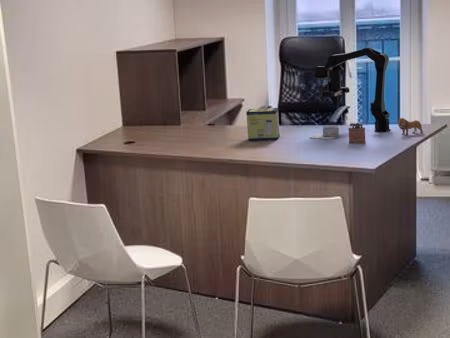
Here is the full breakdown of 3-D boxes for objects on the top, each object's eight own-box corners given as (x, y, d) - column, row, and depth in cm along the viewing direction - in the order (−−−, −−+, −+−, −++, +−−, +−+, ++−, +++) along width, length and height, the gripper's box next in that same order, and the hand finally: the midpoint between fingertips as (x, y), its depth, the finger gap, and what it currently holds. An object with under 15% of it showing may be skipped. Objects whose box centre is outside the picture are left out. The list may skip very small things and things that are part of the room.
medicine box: (337, 125, 371) (338, 127, 363) (338, 133, 372) (339, 136, 364) (322, 126, 372) (323, 128, 364) (322, 134, 373) (323, 137, 365)
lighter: (366, 142, 347) (365, 122, 344) (365, 144, 343) (364, 123, 341) (349, 142, 349) (348, 122, 347) (348, 144, 346) (347, 123, 344)
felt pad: (339, 136, 367) (339, 135, 367) (329, 139, 360) (329, 138, 360) (320, 134, 375) (320, 133, 375) (309, 138, 368) (309, 137, 368)
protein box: (251, 137, 382) (249, 108, 379) (280, 136, 379) (278, 107, 375) (247, 141, 372) (245, 111, 369) (277, 140, 369) (275, 110, 366)
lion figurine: (402, 137, 354) (401, 119, 352) (395, 135, 358) (395, 117, 356) (426, 133, 359) (425, 115, 357) (419, 131, 364) (418, 114, 362)
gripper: (331, 76, 391) (332, 105, 394) (312, 80, 377) (313, 110, 381) (349, 76, 383) (350, 105, 387) (330, 81, 370) (331, 111, 373)
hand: (336, 108), depth 382 cm, fingers closed
